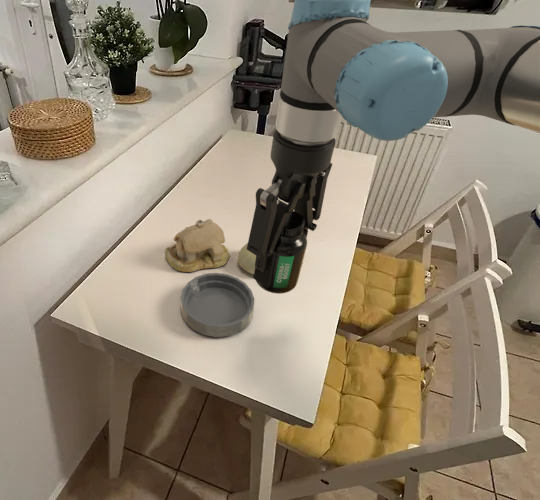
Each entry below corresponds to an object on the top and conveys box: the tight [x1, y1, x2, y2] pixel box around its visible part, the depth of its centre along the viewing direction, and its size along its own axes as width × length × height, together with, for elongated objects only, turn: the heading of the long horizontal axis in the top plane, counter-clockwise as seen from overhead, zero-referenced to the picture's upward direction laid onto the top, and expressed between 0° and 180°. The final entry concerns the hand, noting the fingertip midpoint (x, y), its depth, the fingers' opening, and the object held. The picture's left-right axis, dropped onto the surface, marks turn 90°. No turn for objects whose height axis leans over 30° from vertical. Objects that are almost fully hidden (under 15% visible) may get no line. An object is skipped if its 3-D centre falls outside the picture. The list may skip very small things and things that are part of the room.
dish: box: [180, 272, 255, 338], centre depth 85 cm, size 14×14×4 cm
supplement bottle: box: [255, 210, 308, 295], centre depth 65 cm, size 7×7×12 cm
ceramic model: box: [164, 218, 231, 273], centre depth 95 cm, size 14×11×10 cm
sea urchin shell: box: [237, 242, 256, 275], centre depth 95 cm, size 9×8×8 cm
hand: (277, 270), depth 67 cm, fingers closed on supplement bottle, 7 cm apart
